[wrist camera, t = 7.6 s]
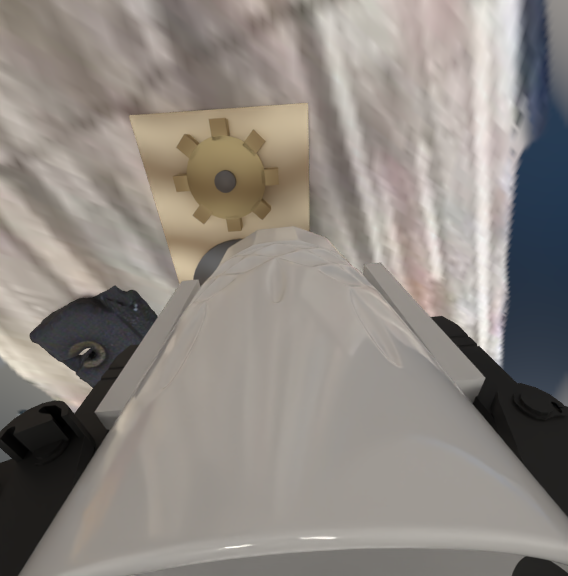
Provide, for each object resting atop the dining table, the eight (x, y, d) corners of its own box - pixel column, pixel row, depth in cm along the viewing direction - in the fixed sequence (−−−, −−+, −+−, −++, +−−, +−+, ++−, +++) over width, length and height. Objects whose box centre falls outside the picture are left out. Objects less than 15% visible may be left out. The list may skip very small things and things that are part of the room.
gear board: (137, 117, 21) (110, 111, 18) (305, 105, 21) (312, 98, 18) (198, 326, 32) (189, 349, 29) (309, 318, 32) (313, 339, 29)
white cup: (197, 199, 10) (-272, 542, 1) (386, 222, 11) (844, 539, 2) (202, 348, 14) (85, 688, 5) (342, 357, 15) (443, 669, 6)
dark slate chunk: (146, 418, 41) (132, 449, 37) (26, 321, 31) (-12, 348, 27) (227, 389, 39) (222, 418, 35) (125, 272, 29) (101, 294, 24)
